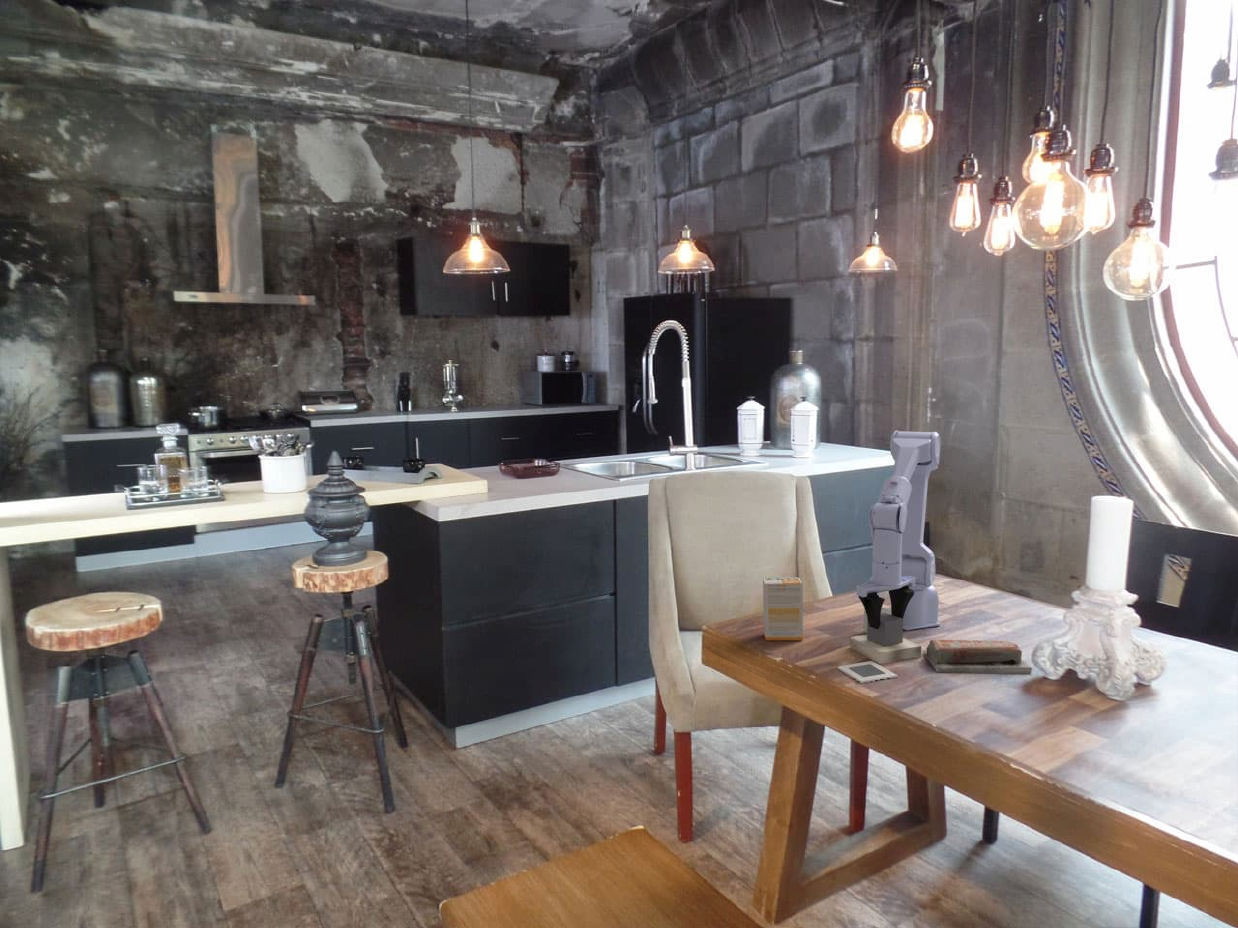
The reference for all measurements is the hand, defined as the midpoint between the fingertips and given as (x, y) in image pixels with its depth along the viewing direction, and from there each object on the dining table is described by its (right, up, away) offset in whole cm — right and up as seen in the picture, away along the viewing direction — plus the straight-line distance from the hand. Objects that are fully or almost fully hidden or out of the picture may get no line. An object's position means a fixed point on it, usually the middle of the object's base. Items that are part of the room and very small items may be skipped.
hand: (885, 624), depth 173 cm
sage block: (+3, -4, +12) cm, 13 cm away
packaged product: (+16, -7, -6) cm, 19 cm away
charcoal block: (0, -4, +1) cm, 4 cm away
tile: (-7, -8, -10) cm, 14 cm away
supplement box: (-19, -5, +11) cm, 23 cm away
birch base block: (0, -7, +1) cm, 7 cm away
